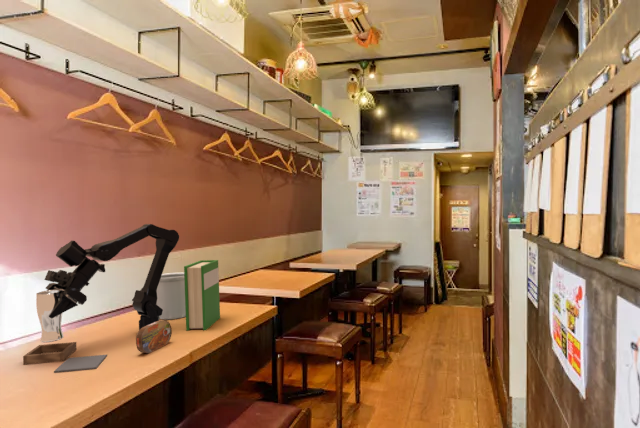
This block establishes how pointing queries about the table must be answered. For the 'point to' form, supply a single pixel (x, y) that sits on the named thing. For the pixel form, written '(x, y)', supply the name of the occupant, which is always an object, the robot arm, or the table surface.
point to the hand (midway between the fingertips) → (46, 316)
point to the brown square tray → (49, 353)
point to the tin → (153, 336)
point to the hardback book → (202, 294)
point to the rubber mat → (81, 363)
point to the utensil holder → (171, 295)
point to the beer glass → (44, 308)
